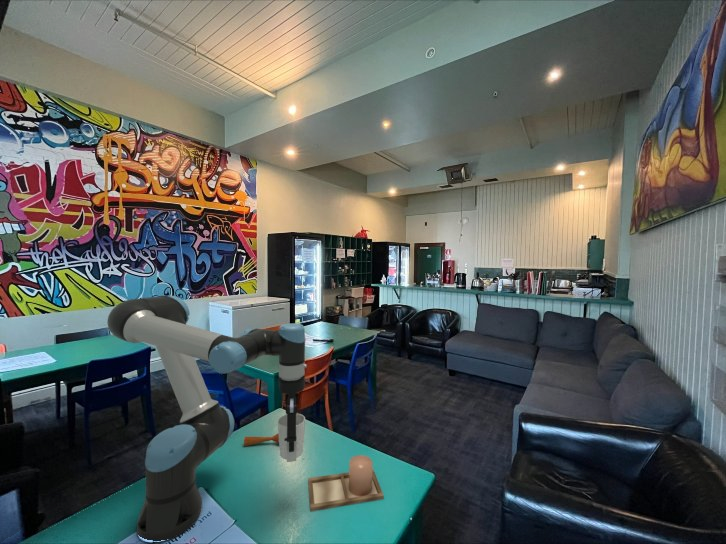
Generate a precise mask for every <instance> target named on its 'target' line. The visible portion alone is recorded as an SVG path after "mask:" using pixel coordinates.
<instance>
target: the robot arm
mask: <svg viewBox="0 0 726 544" xmlns="http://www.w3.org/2000/svg"><path fill="white" fill-rule="evenodd" d="M190 314H191V313H190V309H189V306H188V304H187V303H186V302H185V300H183V299H182V298H180V297H179V296H175V295H159V296H151V297H141V298H133V299H127V300H124V301H121V302H120V303H118V304H117V305H115V306H114V307H113V309H111V311H110V312H109V314H108V316H107V322H106V323H107V328H108V330H109V332H110V333H111V334H112V335H113V336H114V337H116V339H117V338H118V339H120V340H122V341H125V342H128V343H131V344H139V343H145V344H148V345H151V346H155V347H156V350H157V353H158V355H159V358H160V359H161V362H162V365H163V367H164V370H165V372H166V374H167V377H168V380H169V382H170V385H171V388H172V390H173V393H174V395H175V398H176V400H177V403H178V405H179V407H180V411H181V412H182V415H181V417H180V420H179V425H178V424H177V425H174V426H173V427H169V428H166V429H164V430H162V431H161V432H159V433H158V434H156V435H155V436H154V437H153V438H152V439H151V440H150V441H149V443H148V445H147V448H146V454H145V459H144V466H145V498H144V499H145V500H144V503H143V505H142V508H141V511H140V513H139V516H138V518H137V521H136V522H137V523H136V535H137V534H138V535H139V536H140V537H142V538H144V539H147V540H153V541H161V540H167V539H170V540H173V539H174V538H177V537H179V536H180V535H182V534H184V533H185V532H186V531H188V530H189V529H190V528H191V527H192V526H193V525H194V524H195V523H196V522H197V521H198V519H199V518H198V517H200V516H199V515H201V514H202V510H201V509H203V500H202V499H203V498H202V496H201V493H200V490H199V488H198V486H197V483H196V469H197V467H198V466H199V465H201V464H202V463H203V462H205V460H207V459H208V458H209V457H210V456H211V455H213V454H214V452H216V451H218V450H219V449H221V447H223V446H224V445H225V444H226V442H227V441H228V440H229V439H230V438H231V436H232V435H233V432H234V429H235V418H234V415H233V413H232V412H231V410H230V409H229V408H227V407H226V406H223V405H220V403H219V401H218V400H215V399H212V397H211V395H210V392H209V390H208V387H207V386H206V384H205V380H204V378H203V376H202V373H201V370H200V368H199V366H198V362H197V361H196V359H198V360H202V361H206V362H209V364H210V365H209V366H210V367H211V368H212V369H213V370H214V371H215V372H217V373H219V374H229V373H231V372H235V371H237V370H239V369H240V368H242V367H243V366H245V365H247V364H249V363H252V361H255V360H257V359H258V358H260V357H262V356H274V357H277V356H278V377H279V378H278V390H279V392H280V393H282V394H284V396H285V397H284V404H285V415H287V438H284V441H287V460H286V463H292V462H297V458H296V440H297V438H296V413H297V414H298V413H299V412H298V411H299V410H298V409H299V402H300V399H299V397H300V396H299V393H300V392H302V391H304V389H305V388H306V377H305V371H306V370H305V369H307V367H308V364H307V363H306V358H305V357H306V355H305V353H306V334H305V333H306V332H305V326H304V325H303V324H301V323H295V322H294V323H283V324H281V325H280V326H279V328H278V330H275V329H261V328H247V329H246V330H244V332H243V333H242V334H241V335H240V336H238V337H233V336H229V335H225V334H221V333H217V332H214V331H211V330H207V329H205V328H204V329H203V328H200V327H196V326H192V325H188V324H187V323H188V321H189V319H190V317H189V316H190ZM200 513H201V514H200ZM187 529H188V530H187ZM172 538H173V539H172ZM167 541H168V540H167Z"/></svg>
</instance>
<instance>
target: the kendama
mask: <svg viewBox="0 0 726 544" xmlns="http://www.w3.org/2000/svg"><path fill="white" fill-rule="evenodd" d="M269 441H273V442H275V443H277V444H279V434H278V433H277V434H275V435H272V436H245V437H244V440H243V447H247V446H252V445H257V444H261V443H264V442H265V443H266V442H269Z"/></svg>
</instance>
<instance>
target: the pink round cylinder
mask: <svg viewBox="0 0 726 544" xmlns="http://www.w3.org/2000/svg"><path fill="white" fill-rule="evenodd" d="M373 464H374V462H373V460H372V459H371V457H370V456H367V455H364V454H358V455H354V456H352V457H351V458H350V459H349V463H348V466H349V470H348V471H349V490H350V492H351V493H352V494H354V495H356V496H365V495H368V494H369V493H370V492H371V490H372V469H373Z"/></svg>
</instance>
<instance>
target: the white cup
mask: <svg viewBox="0 0 726 544" xmlns="http://www.w3.org/2000/svg"><path fill="white" fill-rule="evenodd" d="M305 425H306V417H305V416H304V415H303V414H301V413H298V412H297V413H296V438H297V440H296V459H297V458H300V457H301V456H302V454H303V452H304V442H305V429H306V428H305ZM277 427H278V428H277V430H278V433H277V434H279V443H278V446H279V456H280V457H281V459H283V460H286V461H287V441H284V438H287V414H284V415H282V416H281V417H279V419H278V420H277Z"/></svg>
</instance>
